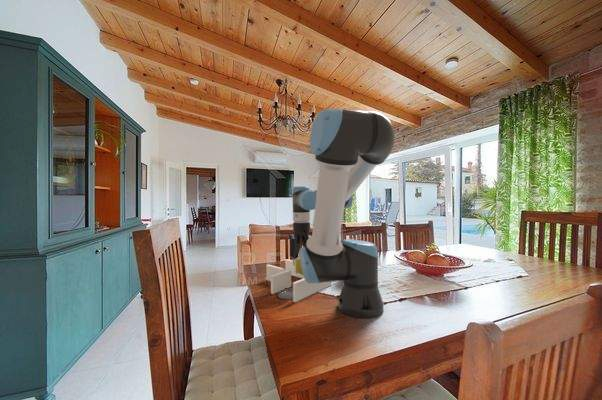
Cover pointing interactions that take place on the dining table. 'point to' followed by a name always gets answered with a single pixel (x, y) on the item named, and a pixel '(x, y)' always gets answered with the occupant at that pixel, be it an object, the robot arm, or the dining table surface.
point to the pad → (286, 295)
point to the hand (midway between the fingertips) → (302, 274)
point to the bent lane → (300, 288)
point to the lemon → (298, 267)
